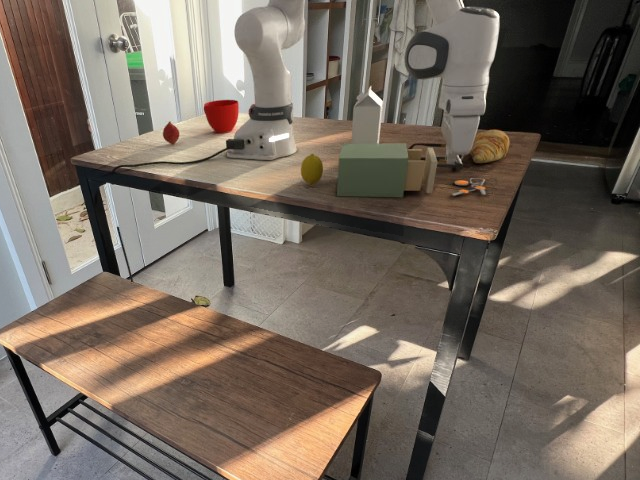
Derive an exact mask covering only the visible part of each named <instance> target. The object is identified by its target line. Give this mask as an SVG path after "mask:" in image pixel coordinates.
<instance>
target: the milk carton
mask: <svg viewBox="0 0 640 480" xmlns="http://www.w3.org/2000/svg"><path fill="white" fill-rule="evenodd" d="M356 100H357V101H356V102H355V104H354V105H353V111H352V127H351V141H350V142H351V143H350V144H372V143H380V137H381V136H380V133H381V126H382V125H381V124H382V117H383V116H382V114H383V106H384V100H382V99H381V98H380V97H379V96H378V94H376V93H375V92H374V91H373V90H372V85H370V86H369V88H368V90H367V92H366V93H364V92H361V93H359V94H358V95H357V96H356Z"/></svg>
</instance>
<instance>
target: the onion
mask: <svg viewBox="0 0 640 480" xmlns="http://www.w3.org/2000/svg"><path fill="white" fill-rule="evenodd" d="M162 137H163V140H165V141H166V142H167V143H169V144H170V145H171V146H174V145H175V144H176V143H177V141H179V138H180V130H179V129H178V127H177V126H176V125H174V124H173V123H172V122H171V121H168V122H167V124H166V125H165V126H164V128H163V131H162Z"/></svg>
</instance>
